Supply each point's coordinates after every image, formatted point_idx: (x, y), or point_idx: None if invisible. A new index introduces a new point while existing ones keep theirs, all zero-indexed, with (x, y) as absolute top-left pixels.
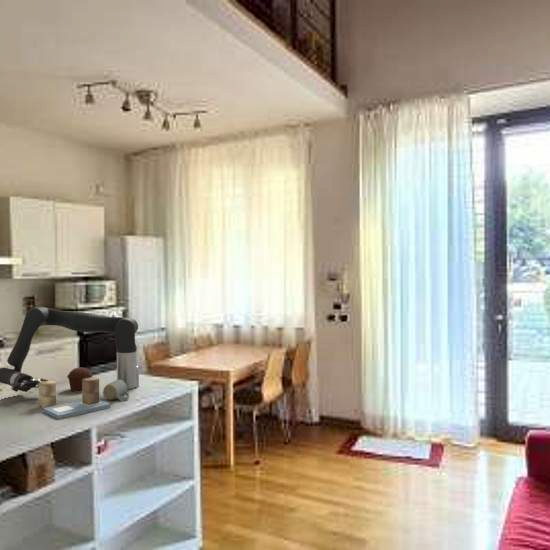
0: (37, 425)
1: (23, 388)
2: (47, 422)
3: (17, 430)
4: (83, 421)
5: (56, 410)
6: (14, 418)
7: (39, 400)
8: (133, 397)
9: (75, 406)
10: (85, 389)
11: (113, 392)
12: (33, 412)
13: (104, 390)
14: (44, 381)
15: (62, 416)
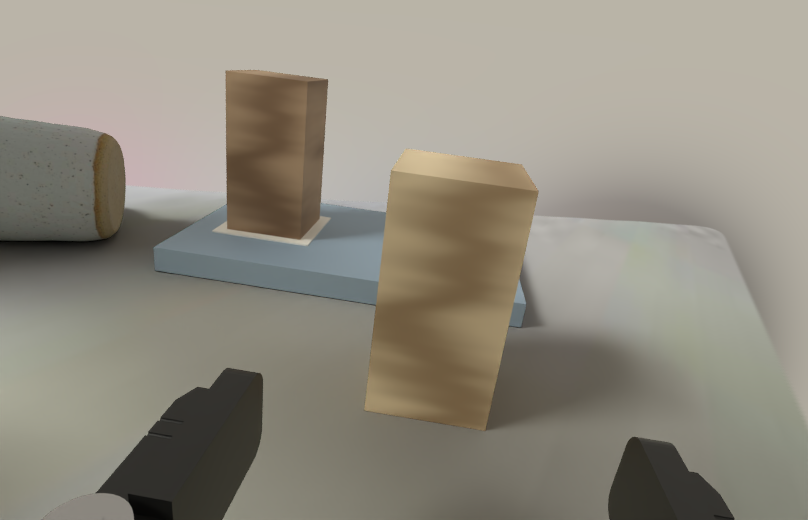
0: (603, 256)
1: (708, 496)
2: (556, 253)
3: (688, 267)
4: None
5: None
6: (715, 354)
7: (495, 374)
8: None
9: (370, 238)
10: (316, 141)
11: (122, 173)
12: (579, 356)
13: (108, 183)
14: (90, 497)
15: None
